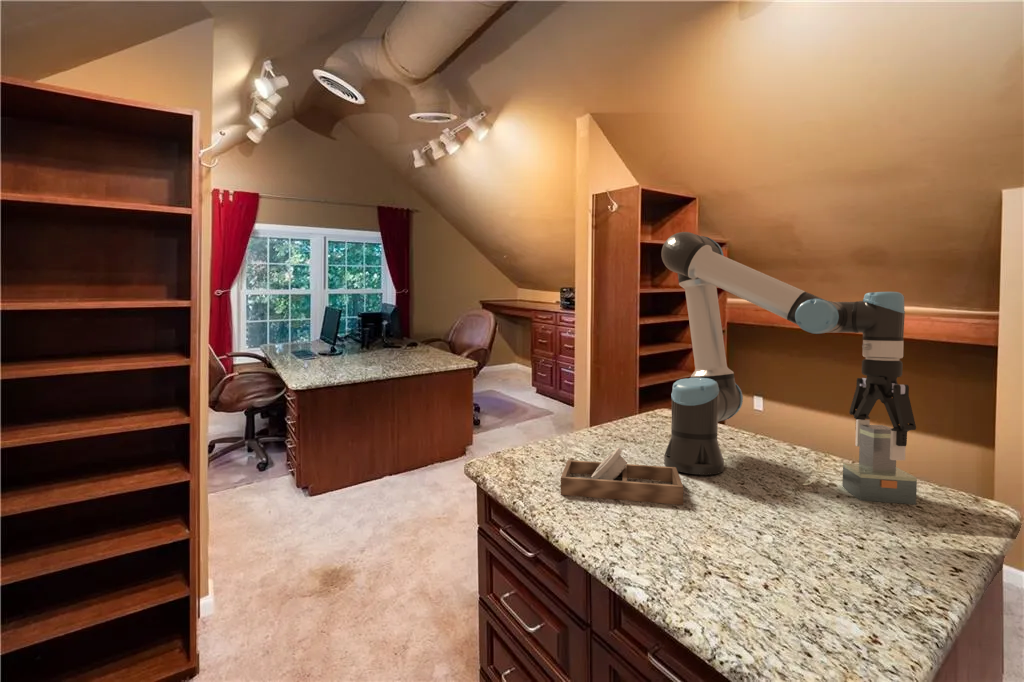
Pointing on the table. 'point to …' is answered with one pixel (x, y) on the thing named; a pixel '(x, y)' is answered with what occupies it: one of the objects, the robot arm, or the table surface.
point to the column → (876, 449)
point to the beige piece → (610, 466)
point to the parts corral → (624, 483)
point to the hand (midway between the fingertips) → (878, 452)
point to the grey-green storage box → (879, 485)
